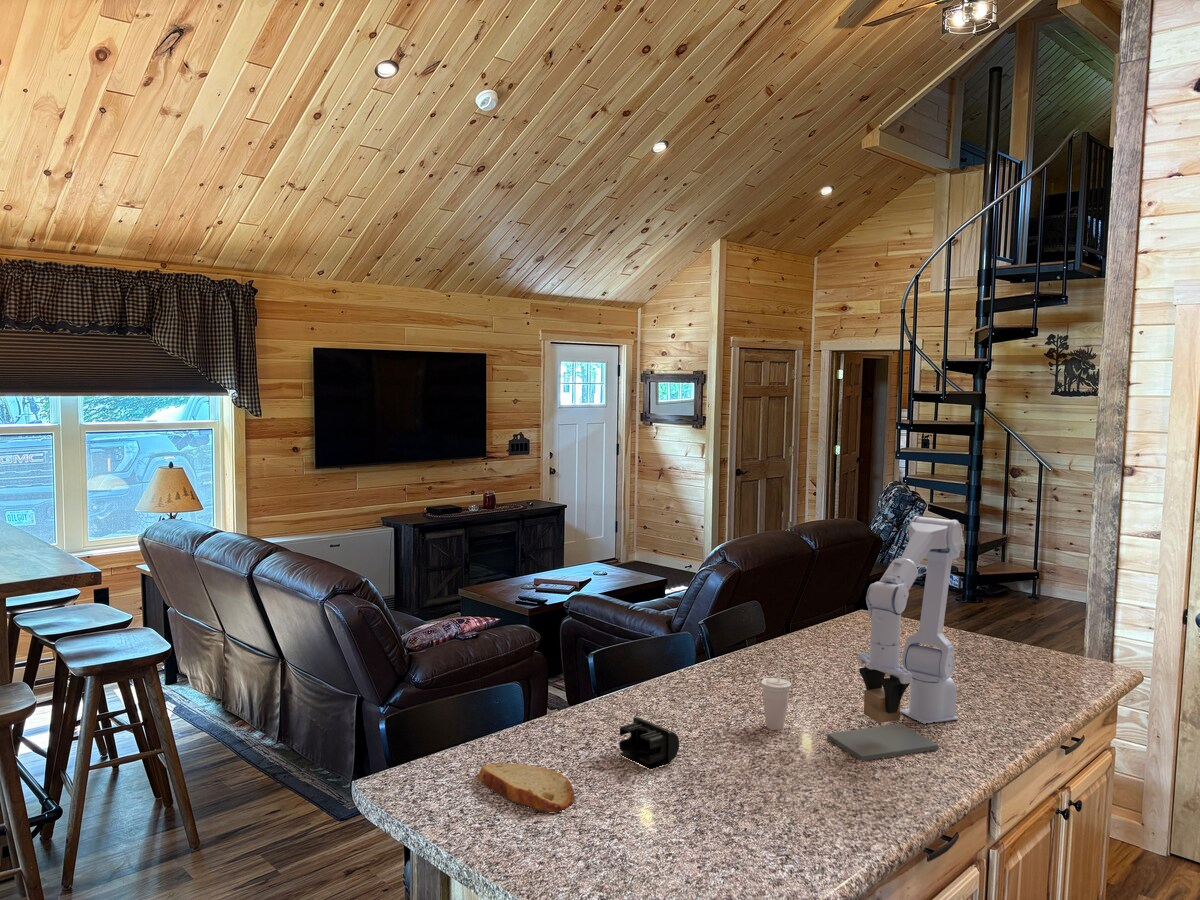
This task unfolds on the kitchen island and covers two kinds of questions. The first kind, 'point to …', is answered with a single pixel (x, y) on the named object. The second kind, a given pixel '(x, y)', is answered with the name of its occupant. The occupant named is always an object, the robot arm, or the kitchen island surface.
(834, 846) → the kitchen island surface
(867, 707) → the cube
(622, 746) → the end cap
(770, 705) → the smoothie
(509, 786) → the slice of bread
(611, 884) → the kitchen island surface
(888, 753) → the board
